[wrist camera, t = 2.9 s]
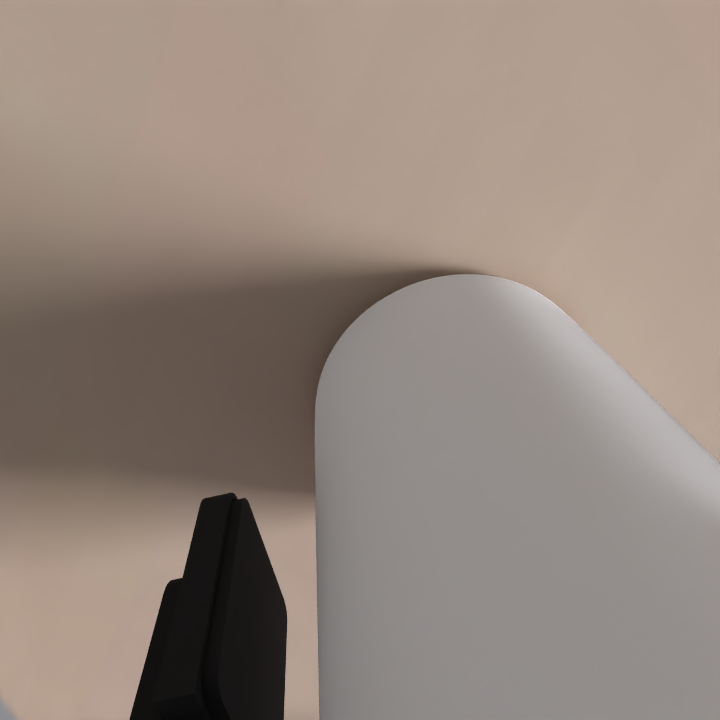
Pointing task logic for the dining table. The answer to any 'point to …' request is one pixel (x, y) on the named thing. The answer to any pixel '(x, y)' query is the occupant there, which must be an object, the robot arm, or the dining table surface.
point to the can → (507, 521)
